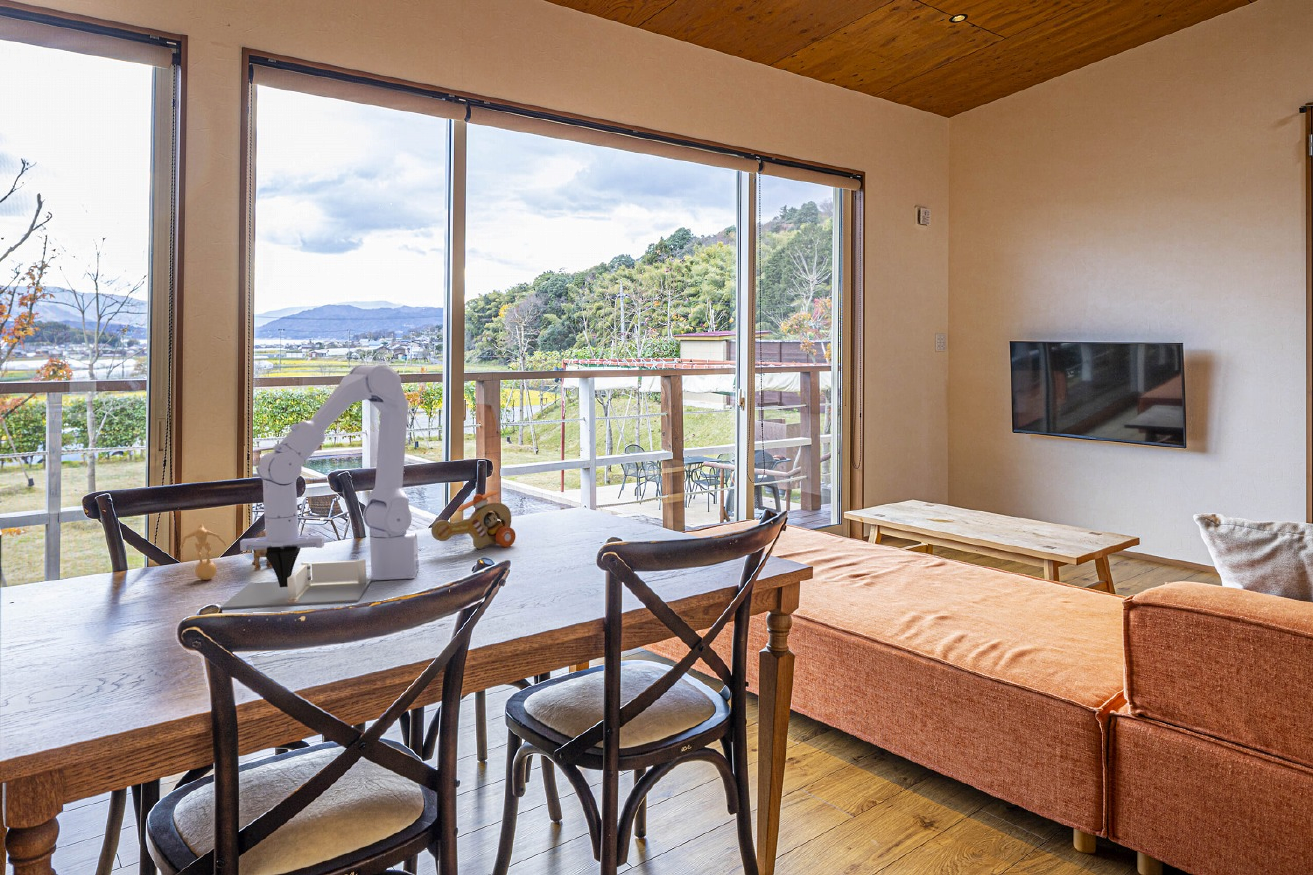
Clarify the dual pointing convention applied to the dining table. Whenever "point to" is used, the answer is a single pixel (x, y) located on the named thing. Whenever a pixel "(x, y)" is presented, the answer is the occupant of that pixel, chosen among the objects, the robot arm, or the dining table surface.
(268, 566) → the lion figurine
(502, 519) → the toy helicopter
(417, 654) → the dining table surface
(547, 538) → the dining table surface
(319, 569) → the fixed fence section
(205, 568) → the figurine
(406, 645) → the dining table surface
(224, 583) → the dining table surface
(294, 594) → the hinged fence panel
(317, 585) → the board
